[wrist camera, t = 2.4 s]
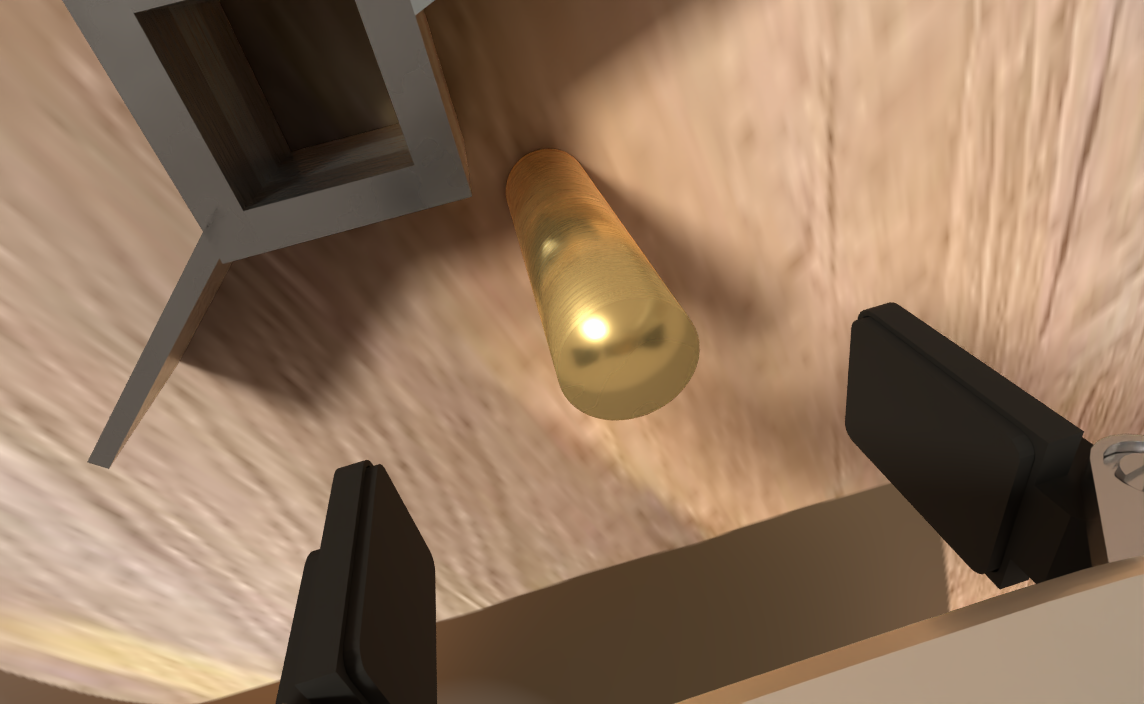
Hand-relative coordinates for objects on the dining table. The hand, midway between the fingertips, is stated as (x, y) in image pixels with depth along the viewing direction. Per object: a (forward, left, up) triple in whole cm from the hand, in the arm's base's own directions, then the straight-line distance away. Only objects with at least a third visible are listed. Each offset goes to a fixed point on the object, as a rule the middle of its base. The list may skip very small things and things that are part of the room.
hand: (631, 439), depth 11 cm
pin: (-1, 0, -14) cm, 14 cm away
